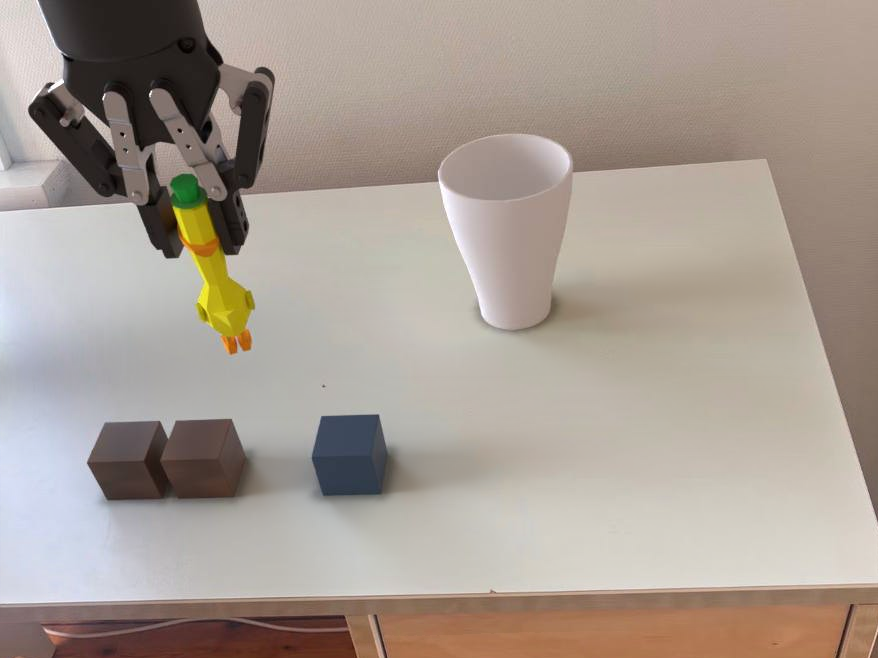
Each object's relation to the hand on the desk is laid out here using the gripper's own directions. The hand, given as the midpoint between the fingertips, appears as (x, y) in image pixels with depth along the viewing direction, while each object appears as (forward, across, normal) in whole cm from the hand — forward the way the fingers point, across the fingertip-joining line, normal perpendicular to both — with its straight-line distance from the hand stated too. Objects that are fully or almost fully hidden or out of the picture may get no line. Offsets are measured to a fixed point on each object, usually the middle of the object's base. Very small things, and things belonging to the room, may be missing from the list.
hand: (204, 248), depth 59 cm
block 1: (+20, +11, 0) cm, 23 cm away
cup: (+20, -17, -20) cm, 33 cm away
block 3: (+20, -6, 0) cm, 21 cm away
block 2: (+20, +5, 0) cm, 20 cm away
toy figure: (+7, 0, 0) cm, 7 cm away
